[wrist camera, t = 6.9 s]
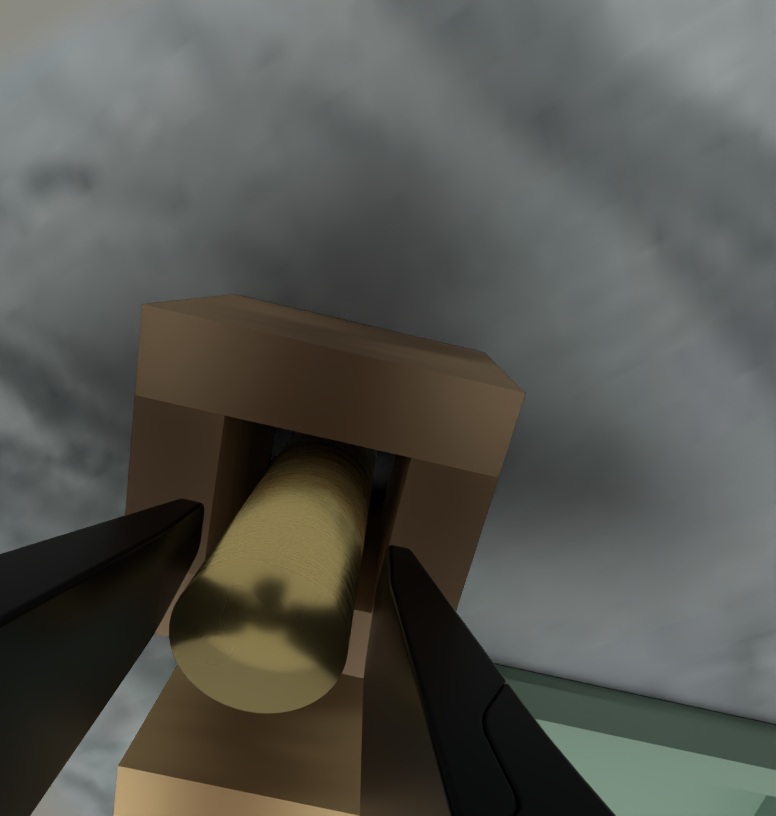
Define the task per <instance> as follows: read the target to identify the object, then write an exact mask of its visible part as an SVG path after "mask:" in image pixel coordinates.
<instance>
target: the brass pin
mask: <svg viewBox="0 0 776 816" xmlns="http://www.w3.org/2000/svg"><path fill="white" fill-rule="evenodd" d="M377 451H378V450H375V449H371V448H366V447H362V446H357V445H353V444H348V443H344V442H340V441H335V440H331V439H326V438H322V437H318V436H313V435H309V434H304V433H300V432H296V431H294V433H293V434H292V436H291V437H290V439H289V440H288V441H287V443H286V444H285V446H284V447H283V449H282V450H281V451H280V453H279V454H278V456H277V457H276V459H275V460H274V462H273V463H272V464H271V466H270V467H269V469H268V470H267V472H266V473H265V474H264V476H263V477H262V479H261V480H260V482H259V483H258V485H257V486H256V487H255V489H254V490H253V492H252V493H251V495H250V496H249V498H248V499H247V500H246V502H245V503H244V505H243V506H242V508H241V509H240V510H239V512H238V513H237V515H236V516H235V518H234V519H233V521H232V522H231V523H230V525H229V526H228V528H227V529H226V531H225V532H224V533H223V535H222V536H221V538H220V539H219V541H218V542H217V544H216V545H215V546H214V548H213V549H212V551H211V552H210V554H209V555H208V556H207V558H206V559H205V561H204V562H203V564H202V565H201V567H200V568H199V569H198V571H197V572H196V574H195V575H194V577H193V578H192V579H191V581H190V582H189V584H188V585H187V587H186V588H185V590H184V591H183V592H182V594H181V595H180V597H179V598H178V600H177V602H176V604H175V605H174V608H173V611H172V613H171V617H170V622H169V639H170V645H171V649H172V652H173V655H174V657H175V659H176V662H177V664H178V665H179V667H180V668H181V670H182V672H183V673H184V674H185V675H186V677H187V678H188V679H189V680H190V681H191V682H192V683H193V684H194V685H195V686H196V687H197V688H198V689H200V690H201V691H202V692H203V693H205V694H206V695H208V696H209V697H211V698H213V699H214V700H216V701H218V702H220V703H222V704H224V705H227V706H230V707H233V708H235V709H239V710H243V711H248V712H254V713H281V712H287V711H292V710H295V709H299V708H302V707H304V706H307V705H309V704H311V703H313V702H314V701H316V700H318V699H319V698H321V697H322V696H323V695H325V694H326V693H327V692H328V691H329V690H330V689H331V688H332V687H333V686H334V685H335V683H336V682H337V681H338V679H339V678H340V676H341V674H342V672H343V670H344V667H345V664H346V661H347V655H348V648H349V641H350V635H351V628H352V621H353V614H354V607H355V601H356V594H357V587H358V580H359V573H360V567H361V560H362V553H363V546H364V539H365V533H366V526H367V519H368V512H369V505H370V499H371V492H372V485H373V478H374V472H375V465H376V458H377Z"/></svg>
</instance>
